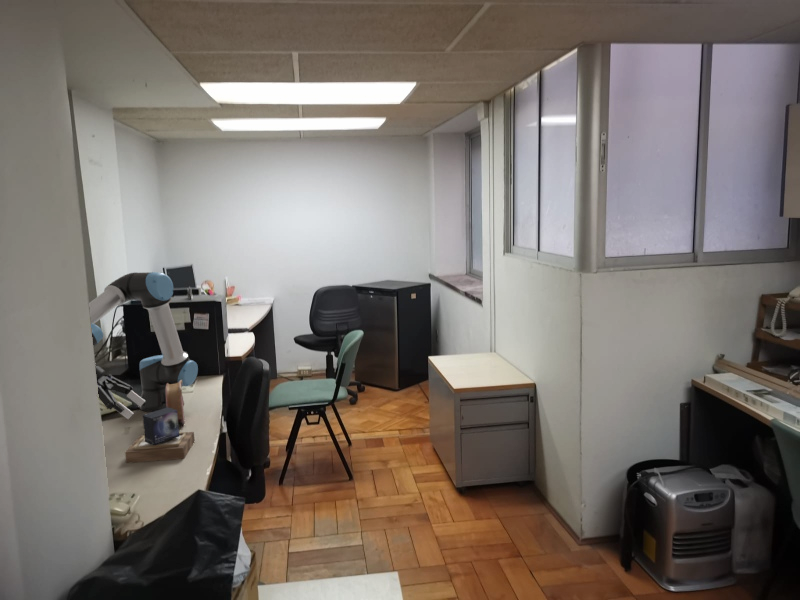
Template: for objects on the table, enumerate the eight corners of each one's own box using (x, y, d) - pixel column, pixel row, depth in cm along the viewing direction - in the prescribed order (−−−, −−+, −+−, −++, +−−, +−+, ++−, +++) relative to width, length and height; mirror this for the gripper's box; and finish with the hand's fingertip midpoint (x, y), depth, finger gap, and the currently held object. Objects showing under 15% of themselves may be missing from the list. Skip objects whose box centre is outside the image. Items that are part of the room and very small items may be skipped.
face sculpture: (186, 428, 246) (182, 389, 244) (168, 431, 244) (164, 391, 242) (185, 413, 265) (182, 377, 262) (168, 416, 263) (165, 379, 260)
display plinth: (141, 445, 230) (139, 433, 229) (194, 441, 232) (193, 429, 231) (126, 462, 214) (124, 450, 213) (184, 458, 216) (182, 445, 215)
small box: (154, 446, 216) (151, 418, 214) (144, 442, 220) (141, 414, 218) (180, 436, 224) (177, 409, 223) (170, 433, 228) (167, 406, 227)
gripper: (95, 371, 228) (141, 406, 232) (67, 390, 203) (118, 429, 207) (108, 356, 228) (154, 392, 231) (81, 374, 203) (132, 413, 207)
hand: (137, 410), depth 219 cm, fingers open, 13 cm apart
